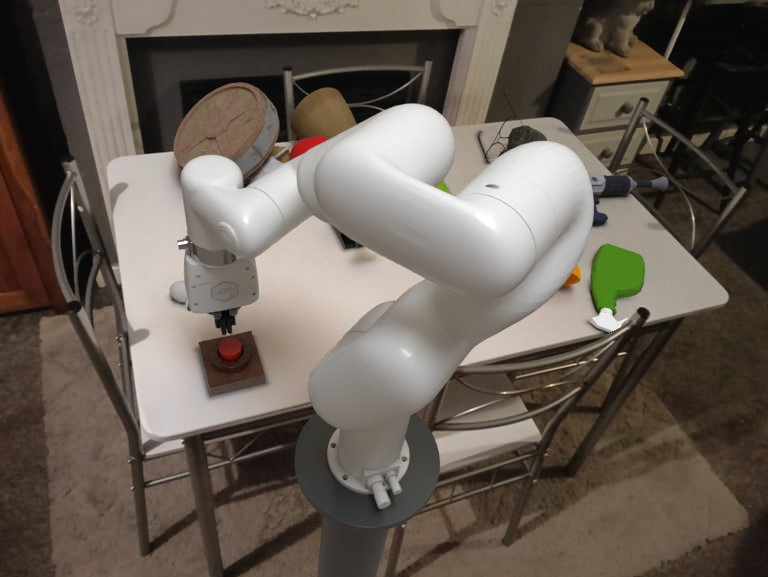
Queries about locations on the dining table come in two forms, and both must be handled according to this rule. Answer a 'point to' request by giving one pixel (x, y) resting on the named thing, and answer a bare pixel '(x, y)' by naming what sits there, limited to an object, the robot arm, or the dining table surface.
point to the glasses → (500, 129)
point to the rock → (524, 136)
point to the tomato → (306, 145)
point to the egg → (178, 291)
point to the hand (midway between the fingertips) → (225, 327)
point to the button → (230, 349)
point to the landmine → (229, 127)
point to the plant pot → (322, 115)
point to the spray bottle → (614, 282)
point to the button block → (231, 365)
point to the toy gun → (618, 189)
